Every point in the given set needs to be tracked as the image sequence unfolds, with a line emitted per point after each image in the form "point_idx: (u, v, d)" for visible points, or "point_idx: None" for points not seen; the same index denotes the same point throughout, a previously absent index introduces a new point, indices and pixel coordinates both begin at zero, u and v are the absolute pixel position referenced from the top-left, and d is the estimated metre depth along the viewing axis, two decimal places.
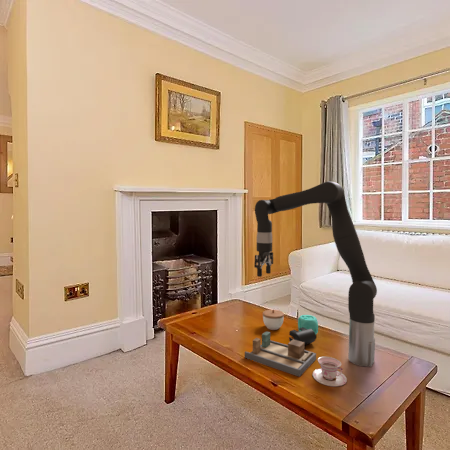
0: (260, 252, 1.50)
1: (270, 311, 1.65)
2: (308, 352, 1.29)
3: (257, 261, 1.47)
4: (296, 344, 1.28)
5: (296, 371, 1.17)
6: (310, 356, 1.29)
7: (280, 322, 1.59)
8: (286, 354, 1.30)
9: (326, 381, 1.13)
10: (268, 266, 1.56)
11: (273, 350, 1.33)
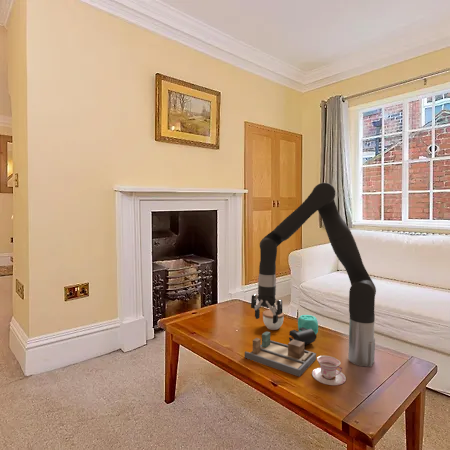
0: (274, 296, 1.35)
1: (270, 311, 1.65)
2: (308, 352, 1.29)
3: (281, 306, 1.33)
4: (296, 344, 1.28)
5: (296, 371, 1.17)
6: (310, 356, 1.29)
7: (280, 322, 1.59)
8: (286, 354, 1.30)
9: (325, 380, 1.14)
10: (258, 310, 1.40)
11: (273, 350, 1.33)
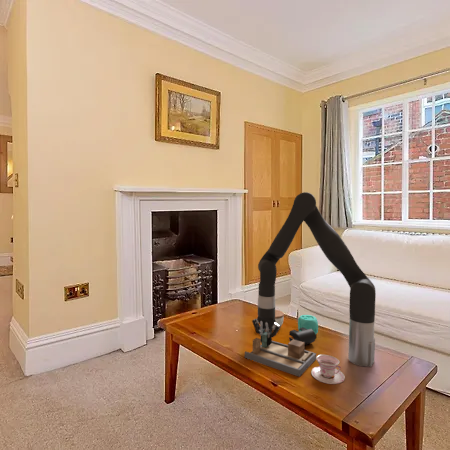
0: (274, 318, 1.35)
1: None
2: (308, 352, 1.29)
3: (277, 331, 1.35)
4: (296, 344, 1.28)
5: (296, 371, 1.17)
6: (310, 356, 1.29)
7: (280, 322, 1.59)
8: (286, 354, 1.30)
9: (324, 379, 1.15)
10: None
11: (273, 350, 1.33)
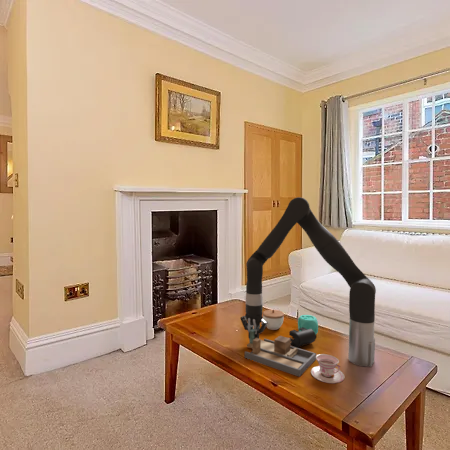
0: (261, 315, 1.39)
1: (270, 311, 1.65)
2: (294, 348, 1.33)
3: (264, 328, 1.38)
4: (282, 340, 1.32)
5: (296, 371, 1.17)
6: (296, 352, 1.32)
7: (280, 322, 1.59)
8: (272, 350, 1.33)
9: (324, 378, 1.15)
10: None
11: None
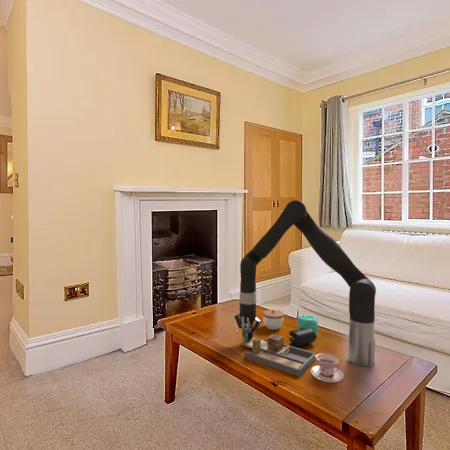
0: (255, 313, 1.40)
1: (270, 311, 1.65)
2: (287, 346, 1.35)
3: (258, 326, 1.40)
4: (275, 338, 1.34)
5: (296, 371, 1.17)
6: (289, 350, 1.34)
7: (280, 322, 1.59)
8: (266, 348, 1.35)
9: (323, 377, 1.16)
10: None
11: None
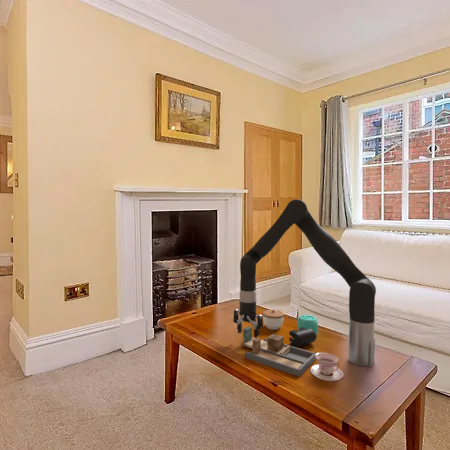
0: (255, 311, 1.40)
1: (270, 311, 1.65)
2: (287, 346, 1.35)
3: (261, 321, 1.39)
4: (275, 338, 1.34)
5: (296, 371, 1.17)
6: (289, 350, 1.34)
7: (280, 322, 1.59)
8: (266, 348, 1.35)
9: (323, 376, 1.17)
10: (240, 325, 1.46)
11: None
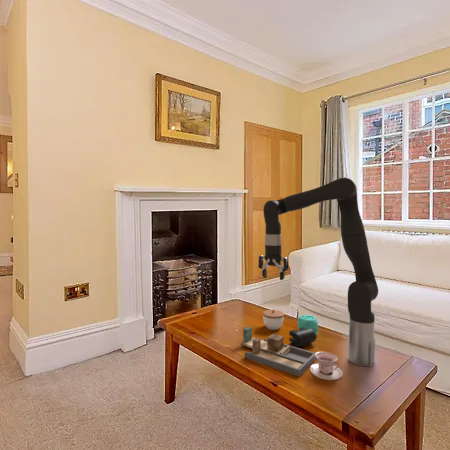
0: (280, 255, 1.44)
1: (270, 311, 1.65)
2: (287, 346, 1.35)
3: (287, 263, 1.43)
4: (275, 338, 1.34)
5: (296, 371, 1.17)
6: (289, 350, 1.34)
7: (280, 322, 1.59)
8: (266, 348, 1.35)
9: (322, 375, 1.17)
10: (265, 270, 1.49)
11: None
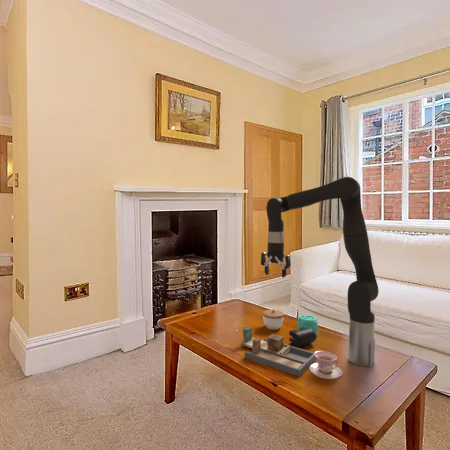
0: (282, 252, 1.45)
1: (270, 311, 1.65)
2: (287, 346, 1.35)
3: (289, 261, 1.43)
4: (275, 338, 1.34)
5: (296, 371, 1.17)
6: (289, 350, 1.34)
7: (280, 322, 1.59)
8: (266, 348, 1.35)
9: (322, 374, 1.18)
10: (268, 267, 1.50)
11: None
